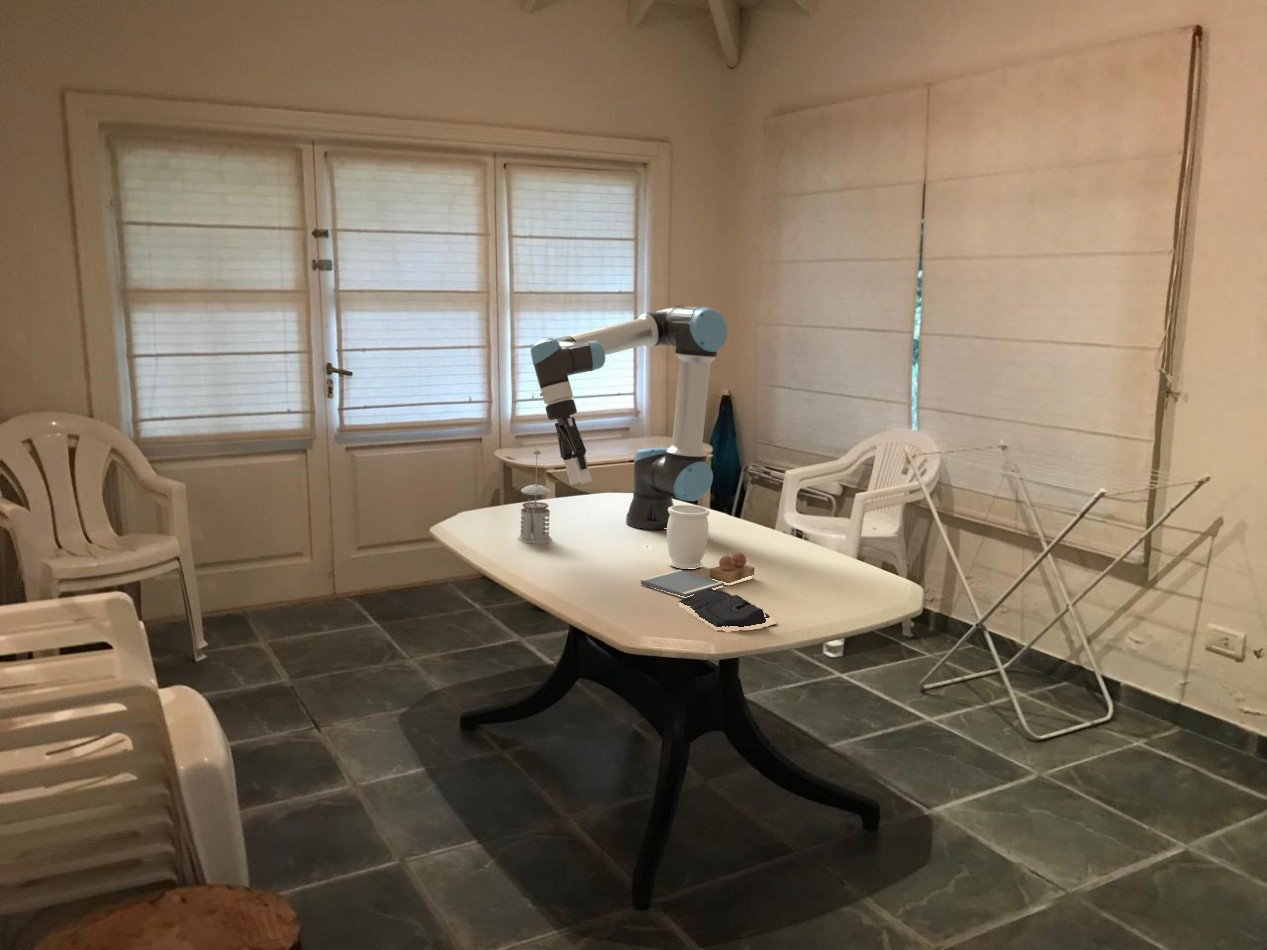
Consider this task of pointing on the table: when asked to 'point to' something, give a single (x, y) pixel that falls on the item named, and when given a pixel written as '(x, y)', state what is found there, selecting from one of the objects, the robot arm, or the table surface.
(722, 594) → the dark flat piece
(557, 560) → the table surface
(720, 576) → the ball rack
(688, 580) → the slate card
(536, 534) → the french press
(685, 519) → the jar
